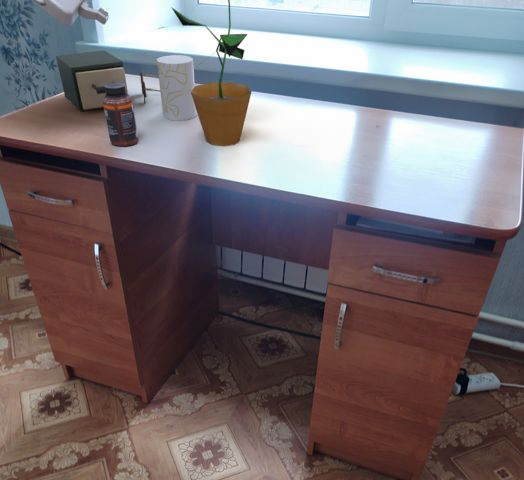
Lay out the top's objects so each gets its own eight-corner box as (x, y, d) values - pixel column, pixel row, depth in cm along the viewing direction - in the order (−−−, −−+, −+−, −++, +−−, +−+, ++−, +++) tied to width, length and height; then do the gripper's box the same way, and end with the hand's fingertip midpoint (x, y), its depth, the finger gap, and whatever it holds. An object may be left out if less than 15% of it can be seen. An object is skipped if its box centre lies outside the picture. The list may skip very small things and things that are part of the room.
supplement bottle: (143, 139, 110) (135, 82, 102) (129, 149, 106) (119, 90, 98) (120, 135, 112) (110, 79, 104) (104, 144, 107) (93, 87, 100)
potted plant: (214, 120, 120) (207, -38, 100) (280, 137, 112) (285, -31, 92) (162, 142, 109) (141, -31, 89) (230, 162, 101) (224, -22, 81)
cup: (156, 117, 121) (150, 61, 113) (173, 108, 127) (168, 53, 119) (186, 122, 119) (182, 65, 111) (202, 112, 124) (198, 57, 116)
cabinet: (129, 103, 129) (122, 61, 122) (80, 111, 124) (70, 67, 117) (111, 90, 137) (104, 50, 131) (65, 97, 132) (55, 55, 126)
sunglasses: (141, 91, 137) (140, 71, 134) (195, 93, 140) (195, 73, 137) (145, 107, 127) (143, 85, 123) (203, 109, 130) (204, 88, 127)
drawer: (136, 108, 123) (131, 72, 118) (90, 115, 119) (83, 78, 114) (112, 90, 134) (107, 57, 129) (70, 96, 130) (62, 62, 125)
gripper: (19, -24, 86) (95, 28, 91) (73, -98, 92) (143, -46, 97) (19, 4, 92) (91, 52, 96) (71, -67, 98) (136, -19, 102)
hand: (117, 2), depth 97 cm, fingers open, 8 cm apart
